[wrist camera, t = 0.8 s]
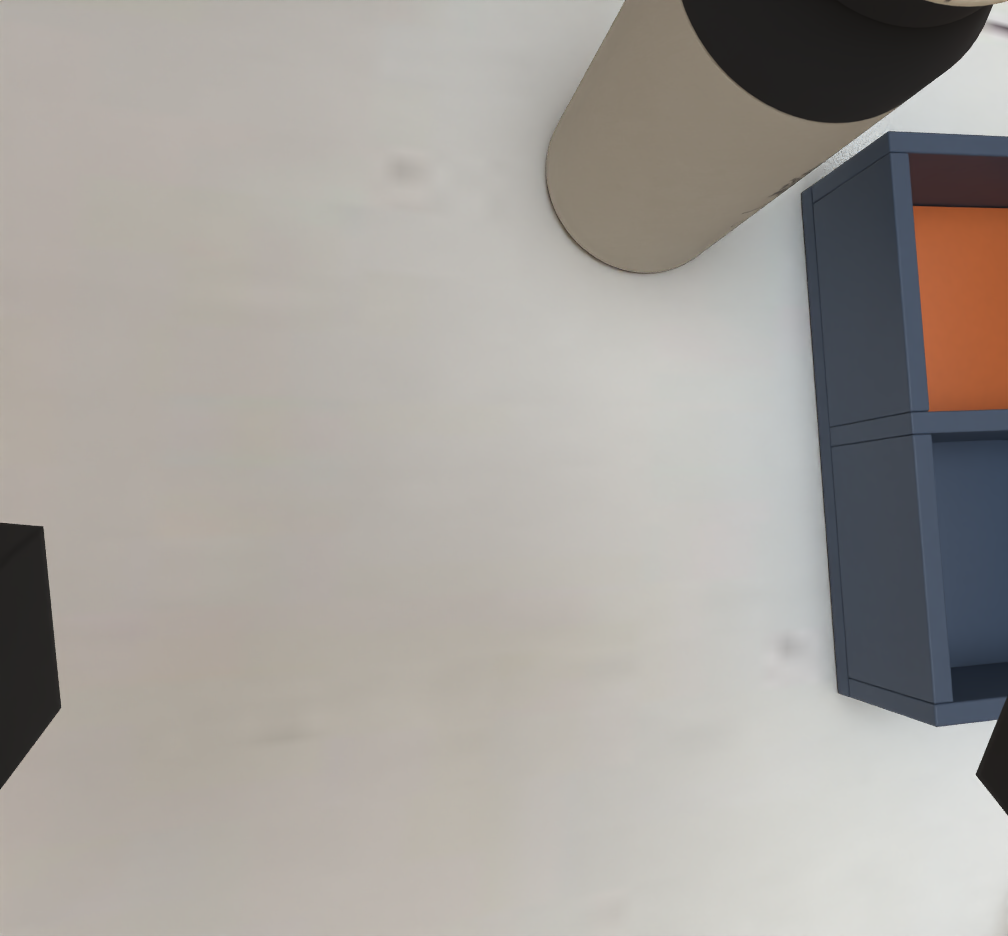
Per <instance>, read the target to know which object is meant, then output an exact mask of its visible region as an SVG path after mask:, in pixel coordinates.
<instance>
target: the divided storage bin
mask: <svg viewBox="0 0 1008 936" xmlns="http://www.w3.org/2000/svg"><path fill="white" fill-rule="evenodd" d="M801 195H802V209H803V222H804V236H805V249H806V263H807V276H808V290H809V303H810V317H811V330H812V344H813V357H814V371H815V384H816V398H817V411H818V425H819V438H820V452H821V465H822V479H823V492H824V506H825V519H826V533H827V546H828V560H829V573H830V587H831V600H832V614H833V627H834V641H835V654H836V668H837V681H838V693H839V694H842V695H845V696H848V697H852V698H854V699H857V700H860V701H863V702H866V703H869V704H872V705H875V706H878V707H881V708H883V709H886V710H889V711H892V712H895V713H898V714H901V715H904V716H907V717H910V718H913V719H915V720H918V721H921V722H924V723H927V724H930V725H933V726H936V727H940V726H948V725H957V724H965V723H974V722H982V721H991V720H998V718H999V715H1000V713H1001V711H1002V708H1003V706H1004V703H1005V701H1006V698H1007V696H1008V137H1005V136H983V135H961V134H939V133H918V132H896V131H889V132H887V133H885V134H884V135H882V136H881V137H880V138H878V139H877V140H875V141H874V142H873V143H871V144H870V145H868V146H867V147H866V148H864V149H863V150H861V151H860V152H859V153H857V154H856V155H854V156H853V157H852V158H850V159H849V160H847V161H846V162H845V163H843V164H842V165H840V166H839V167H838V168H836V169H835V170H833V171H832V172H831V173H829V174H828V175H826V176H825V177H824V178H822V179H821V180H819V181H818V182H816V183H815V184H814V185H813V186H811V187H809V188H808V189H806V190H805V191H804V192H802V194H801Z"/></svg>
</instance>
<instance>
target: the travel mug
mask: <svg viewBox="0 0 1008 936" xmlns="http://www.w3.org/2000/svg"><path fill="white" fill-rule="evenodd" d="M1005 1H1008V0H625V2H624V4H623V6H622V7H621V9H620V11H619V13H618V15H617V17H616V18H615V20H614V22H613V24H612V26H611V27H610V29H609V31H608V33H607V35H606V37H605V38H604V40H603V42H602V44H601V46H600V48H599V49H598V51H597V53H596V55H595V57H594V59H593V60H592V62H591V64H590V66H589V68H588V70H587V71H586V73H585V75H584V77H583V79H582V81H581V82H580V84H579V86H578V88H577V90H576V92H575V93H574V95H573V97H572V99H571V101H570V102H569V104H568V106H567V108H566V110H565V112H564V113H563V115H562V117H561V119H560V121H559V123H558V125H557V126H556V128H555V130H554V133H553V135H552V138H551V140H550V144H549V148H548V153H547V162H546V177H547V185H548V190H549V194H550V198H551V201H552V204H553V207H554V209H555V211H556V213H557V215H558V217H559V219H560V221H561V223H562V224H563V226H564V227H565V229H566V230H567V231H568V233H569V234H570V235H571V236H572V238H573V239H574V240H575V241H576V242H577V243H578V244H579V245H580V246H581V247H582V248H584V249H585V250H586V251H587V252H588V253H590V254H591V255H593V256H594V257H596V258H597V259H599V260H601V261H603V262H604V263H607V264H609V265H611V266H614V267H617V268H620V269H623V270H627V271H632V272H640V273H653V272H662V271H667V270H670V269H674V268H677V267H679V266H681V265H684V264H686V263H687V262H689V261H691V260H693V259H694V258H695V257H697V256H698V255H700V254H701V253H702V252H704V251H705V250H706V249H708V248H709V247H710V246H712V245H713V244H714V243H716V242H717V241H718V240H720V239H721V238H722V237H724V236H725V235H726V234H728V233H729V232H731V231H732V230H733V229H735V228H736V227H737V226H739V225H740V224H741V223H743V222H744V221H745V220H747V219H748V218H749V217H751V216H752V215H753V214H755V213H756V212H757V211H759V210H760V209H761V208H763V207H764V206H765V205H767V204H768V203H769V202H771V201H772V200H774V199H775V198H776V197H778V196H779V195H780V194H782V193H783V192H784V191H786V190H787V189H788V188H790V187H791V186H792V185H794V184H795V183H796V182H798V181H799V180H800V179H802V178H803V177H804V176H806V175H807V174H808V173H810V172H811V171H813V170H814V169H815V168H817V167H818V166H819V165H821V164H822V163H823V162H825V161H826V160H827V159H829V158H830V157H831V156H833V155H834V154H835V153H837V152H838V151H839V150H841V149H842V148H843V147H845V146H846V145H847V144H849V143H850V142H852V141H853V140H854V139H856V138H857V137H858V136H860V135H861V134H862V133H864V132H865V131H866V130H868V129H869V128H870V127H872V126H873V125H874V124H876V123H877V122H878V121H880V120H881V119H882V118H884V117H885V116H886V115H888V114H889V113H891V112H892V111H893V110H895V109H896V108H897V107H899V106H900V105H901V104H903V103H904V102H905V101H907V100H908V99H909V98H911V97H912V96H913V95H915V94H916V93H917V92H919V91H920V90H921V89H923V88H924V87H925V86H927V85H928V84H930V83H931V82H932V81H934V80H935V79H936V78H938V77H939V76H940V75H942V74H943V73H944V72H946V71H947V70H948V69H950V68H951V67H952V66H953V65H954V64H955V63H957V62H958V61H959V60H960V59H961V58H962V57H963V56H964V55H965V53H966V52H967V51H968V50H969V49H970V48H971V46H972V45H973V43H974V42H975V41H976V39H977V38H978V36H979V34H980V32H981V31H982V29H983V27H984V25H985V23H986V20H987V18H988V16H989V13H990V11H991V8H992V6H993V4H997V3H1002V2H1005Z"/></svg>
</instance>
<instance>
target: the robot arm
mask: <svg viewBox="0 0 1008 936" xmlns="http://www.w3.org/2000/svg"><path fill="white" fill-rule="evenodd" d="M60 709H61V701H60V691H59V681H58V671H57V661H56V650H55V640H54V630H53V620H52V610H51V600H50V590H49V580H48V569H47V559H46V549H45V539H44V529H43V526H31V525H20V524H8V523H0V789H1V788H2V787H3V785H4V784H5V782H6V781H7V780H8V778H9V777H10V776H11V774H12V773H13V772H14V770H15V769H16V768H17V766H18V765H19V764H20V762H21V761H22V760H23V758H24V757H25V756H26V754H27V753H28V752H29V750H30V749H31V748H32V746H33V745H34V744H35V742H36V741H37V740H38V738H39V737H40V736H41V734H42V733H43V732H44V730H45V729H46V728H47V726H48V725H49V723H50V722H51V721H52V719H53V718H54V717H55V715H56V714H57V713H58V711H59V710H60ZM976 776H977V777H978V778H979V780H980V781H981V782H982V783H983V785H984V786H985V787H986V788H987V790H988V791H989V792H990V793H991V795H992V796H993V797H994V798H995V800H996V801H997V802H998V804H999V805H1000V806H1001V807H1002V809H1003V810H1004V811H1005V812H1006V814H1007V815H1008V696H1007V698H1006V701H1005V703H1004V706H1003V708H1002V711H1001V713H1000V715H999V718H998V720H997V723H996V725H995V728H994V730H993V733H992V735H991V738H990V740H989V743H988V745H987V748H986V750H985V753H984V755H983V758H982V760H981V763H980V765H979V768H978V770H977V773H976Z"/></svg>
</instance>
